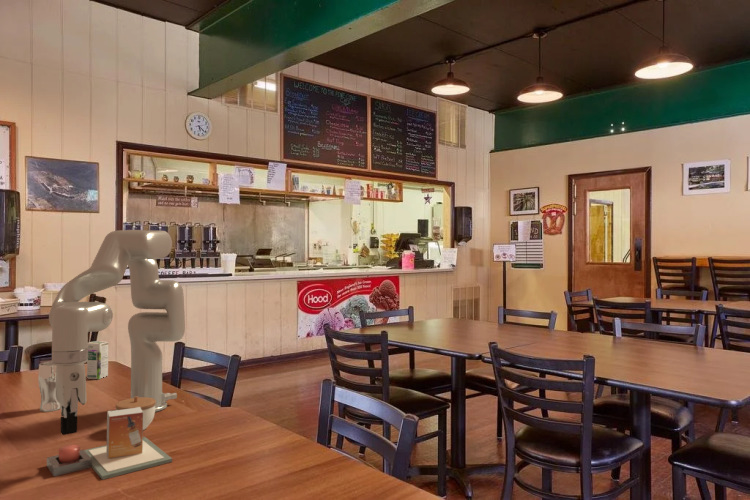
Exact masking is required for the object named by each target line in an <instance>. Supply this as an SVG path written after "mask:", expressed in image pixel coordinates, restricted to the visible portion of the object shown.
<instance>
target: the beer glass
mask: <svg viewBox="0 0 750 500" xmlns="http://www.w3.org/2000/svg"><path fill="white" fill-rule="evenodd" d="M37 378H38V379H37V381H38V386H39V392H40V401H41V402H40V406H39V411H40V412H43V413H44V412H45V413H49V412H55V411H59V410H61V404H60V403H59V402H58V401H57V399H56V366H55V365H52V360H51V361H45V362H41V363H39V365H38V377H37Z"/></svg>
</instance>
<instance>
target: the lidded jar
mask: <svg viewBox="0 0 750 500" xmlns="http://www.w3.org/2000/svg"><path fill="white" fill-rule="evenodd" d="M155 404H156V400H155V399H153V398H147V397H138V396H135V397H134V398H131V397H130V398H125V399H123V400H120V401H117V402H116V404H115V410H123V409H130V408H136V407H141V409H142V412H143V431H144V430H146V429H148V427H149V425H150V424H151V423H152V422H153V420H154V418H155V414H156V412H155Z"/></svg>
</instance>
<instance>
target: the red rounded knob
mask: <svg viewBox="0 0 750 500" xmlns="http://www.w3.org/2000/svg"><path fill="white" fill-rule="evenodd" d="M80 448H81V446H80V444H68V445H63V446H62V447H61V446H60V448H59V449H58V455H59V462H60V463H67V462H72V461H76V460H79V459H80V450H81V449H80Z"/></svg>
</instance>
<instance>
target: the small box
mask: <svg viewBox="0 0 750 500" xmlns="http://www.w3.org/2000/svg"><path fill="white" fill-rule="evenodd" d="M143 433H144V430H143V412H142V409H141V407H136V408H130V409H123V410H116V409H114V410H108V411H107V412H106V445H107V447H106V451H107V456H108V458H114V457H120V456H127V455H134V454H142V449H143V437H144V435H143Z"/></svg>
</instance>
